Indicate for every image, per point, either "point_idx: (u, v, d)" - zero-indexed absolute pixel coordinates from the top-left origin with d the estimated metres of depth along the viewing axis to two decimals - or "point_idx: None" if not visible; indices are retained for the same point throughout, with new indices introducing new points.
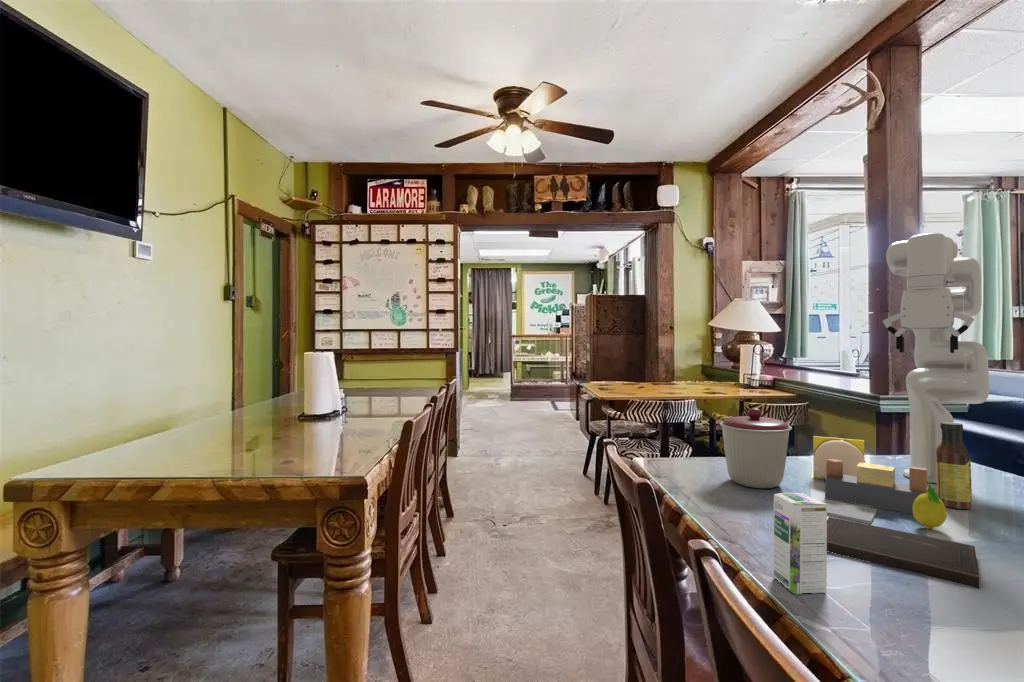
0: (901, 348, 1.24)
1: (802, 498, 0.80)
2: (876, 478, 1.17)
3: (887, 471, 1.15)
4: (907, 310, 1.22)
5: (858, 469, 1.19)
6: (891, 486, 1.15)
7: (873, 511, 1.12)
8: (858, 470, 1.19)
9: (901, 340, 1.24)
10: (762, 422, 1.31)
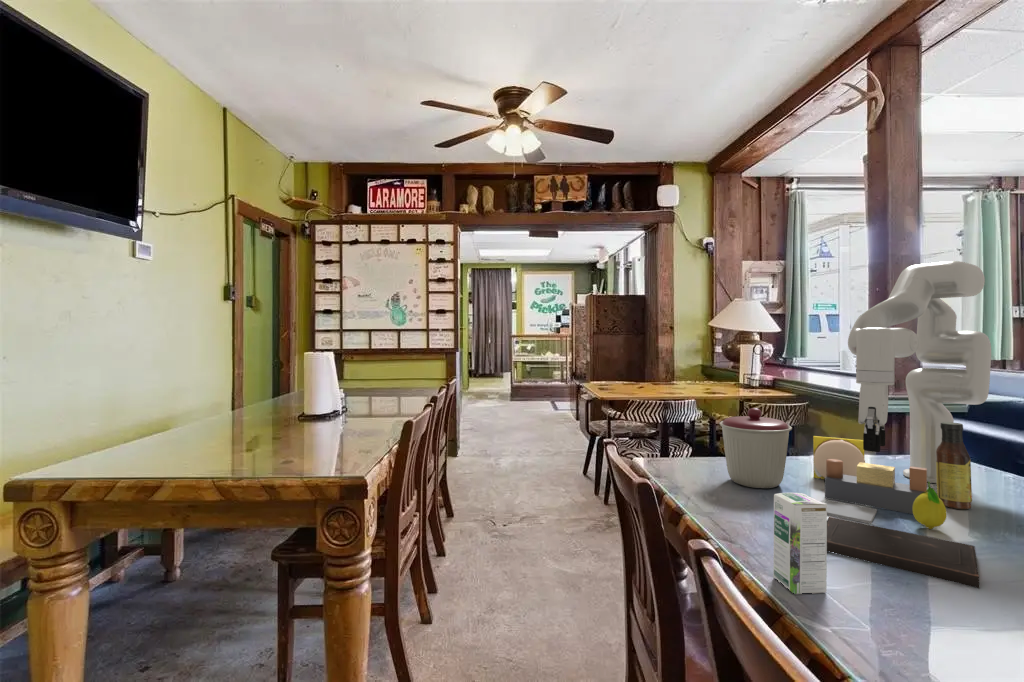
0: (879, 447, 1.14)
1: (802, 498, 0.80)
2: (876, 478, 1.17)
3: (887, 471, 1.15)
4: (884, 406, 1.15)
5: (858, 469, 1.19)
6: (891, 486, 1.15)
7: (873, 511, 1.12)
8: (858, 470, 1.19)
9: (880, 439, 1.14)
10: (762, 422, 1.31)
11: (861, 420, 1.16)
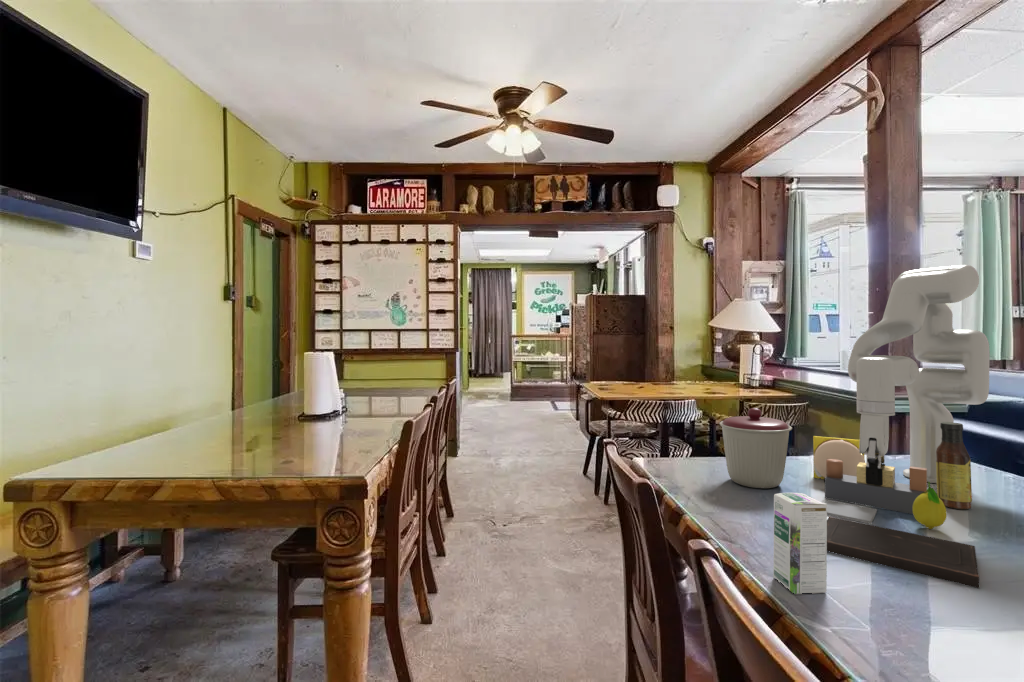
0: None
1: (802, 498, 0.80)
2: None
3: (887, 471, 1.15)
4: (885, 437, 1.15)
5: (858, 469, 1.19)
6: (891, 486, 1.15)
7: (873, 511, 1.12)
8: (858, 470, 1.19)
9: None
10: (762, 422, 1.31)
11: (862, 451, 1.17)
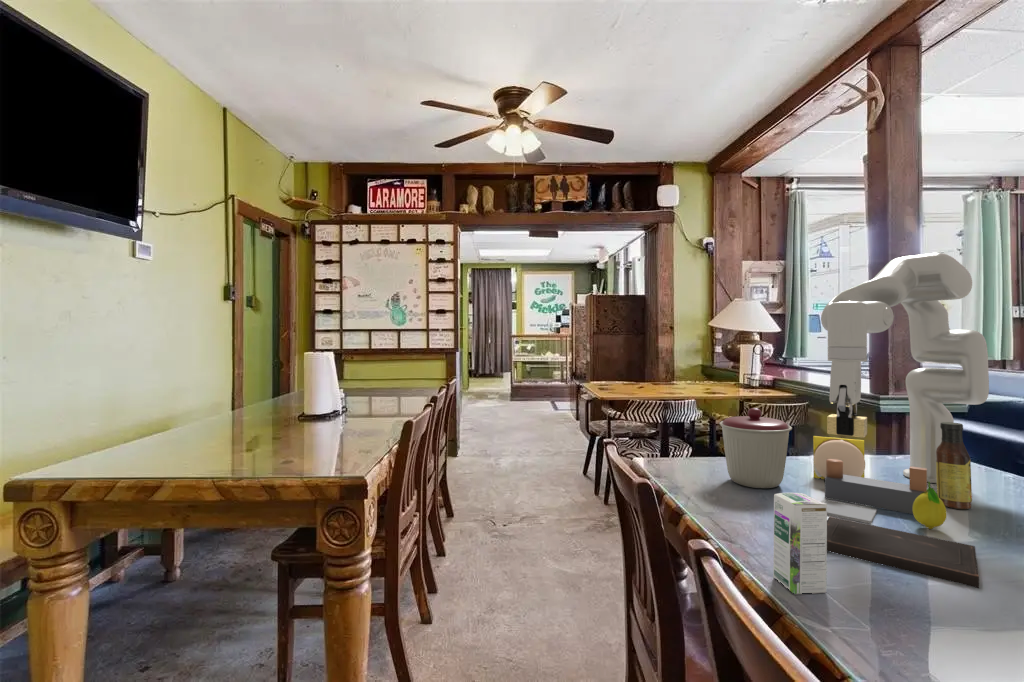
0: (853, 431, 1.10)
1: (802, 498, 0.80)
2: None
3: (858, 420, 1.09)
4: (856, 384, 1.09)
5: (829, 420, 1.13)
6: (862, 436, 1.09)
7: (873, 511, 1.12)
8: (829, 421, 1.13)
9: (853, 422, 1.10)
10: (762, 422, 1.31)
11: (832, 399, 1.11)
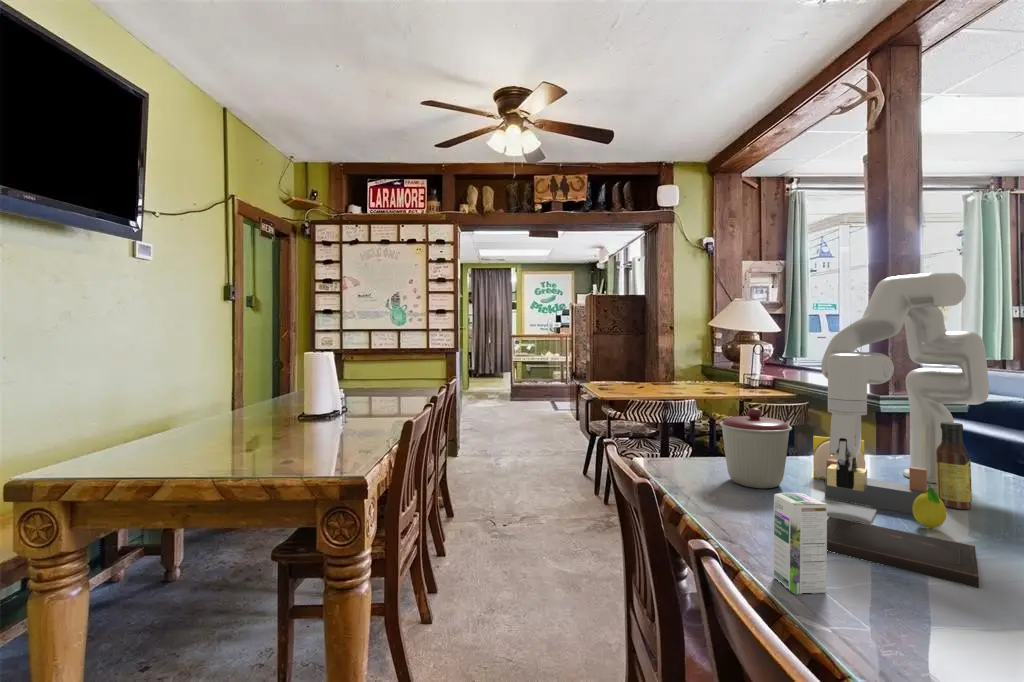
0: (853, 484, 1.10)
1: (802, 498, 0.80)
2: None
3: (858, 473, 1.09)
4: (856, 438, 1.09)
5: (829, 471, 1.13)
6: (862, 489, 1.09)
7: (873, 511, 1.12)
8: (829, 472, 1.13)
9: (853, 475, 1.10)
10: (762, 422, 1.31)
11: (832, 452, 1.11)
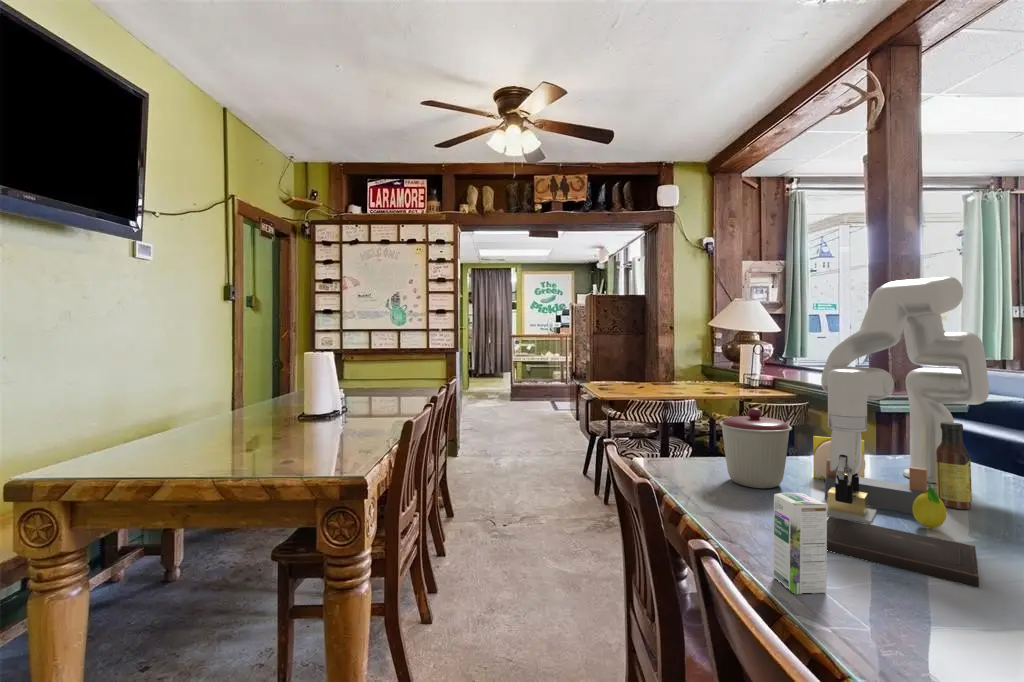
0: (852, 499, 1.09)
1: (802, 498, 0.80)
2: (847, 505, 1.11)
3: (859, 498, 1.09)
4: (856, 454, 1.09)
5: (829, 495, 1.13)
6: (863, 514, 1.09)
7: (873, 511, 1.12)
8: (829, 496, 1.13)
9: (852, 490, 1.09)
10: (762, 422, 1.31)
11: (832, 468, 1.11)
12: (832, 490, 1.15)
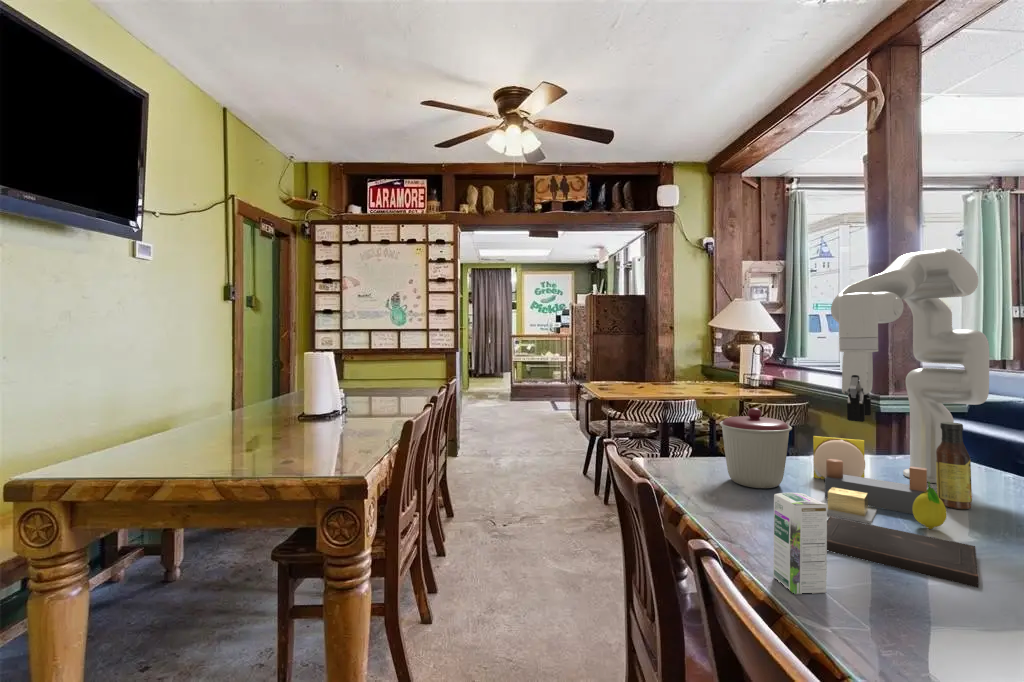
0: (864, 417, 1.10)
1: (802, 498, 0.80)
2: (847, 505, 1.11)
3: (859, 498, 1.09)
4: (868, 374, 1.10)
5: (829, 495, 1.13)
6: (863, 514, 1.09)
7: (873, 511, 1.12)
8: (829, 496, 1.13)
9: (864, 408, 1.10)
10: (762, 422, 1.31)
11: (844, 389, 1.12)
12: (832, 490, 1.15)
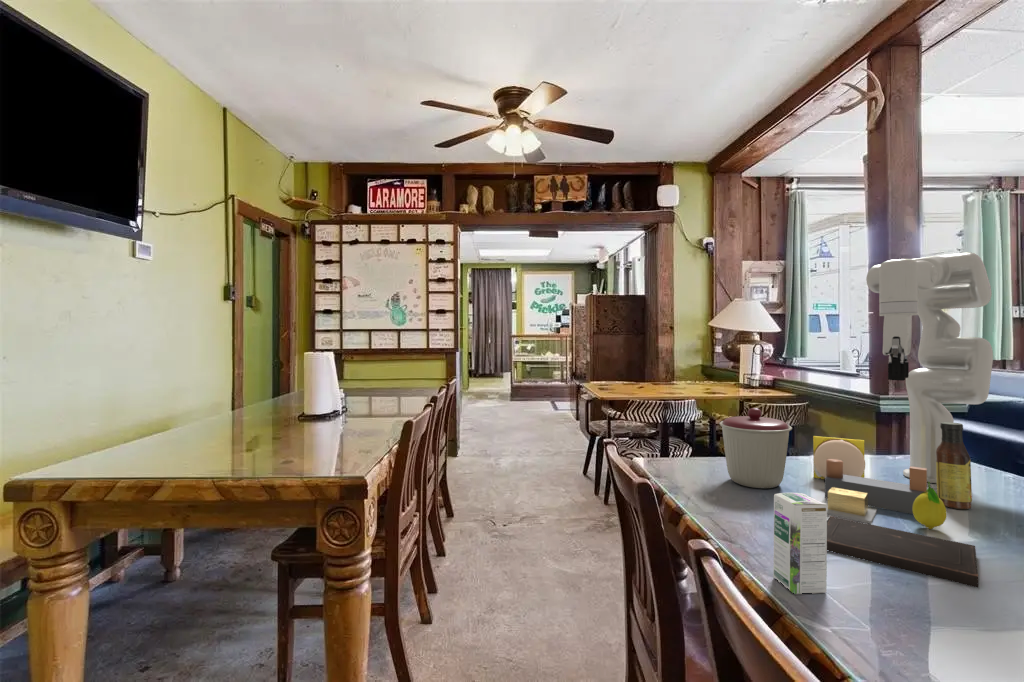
0: (904, 376, 1.16)
1: (802, 498, 0.80)
2: (847, 505, 1.11)
3: (859, 498, 1.09)
4: (909, 336, 1.16)
5: (829, 495, 1.13)
6: (863, 514, 1.09)
7: (873, 511, 1.12)
8: (829, 496, 1.13)
9: (904, 367, 1.16)
10: (762, 422, 1.31)
11: (885, 350, 1.18)
12: (832, 490, 1.15)
